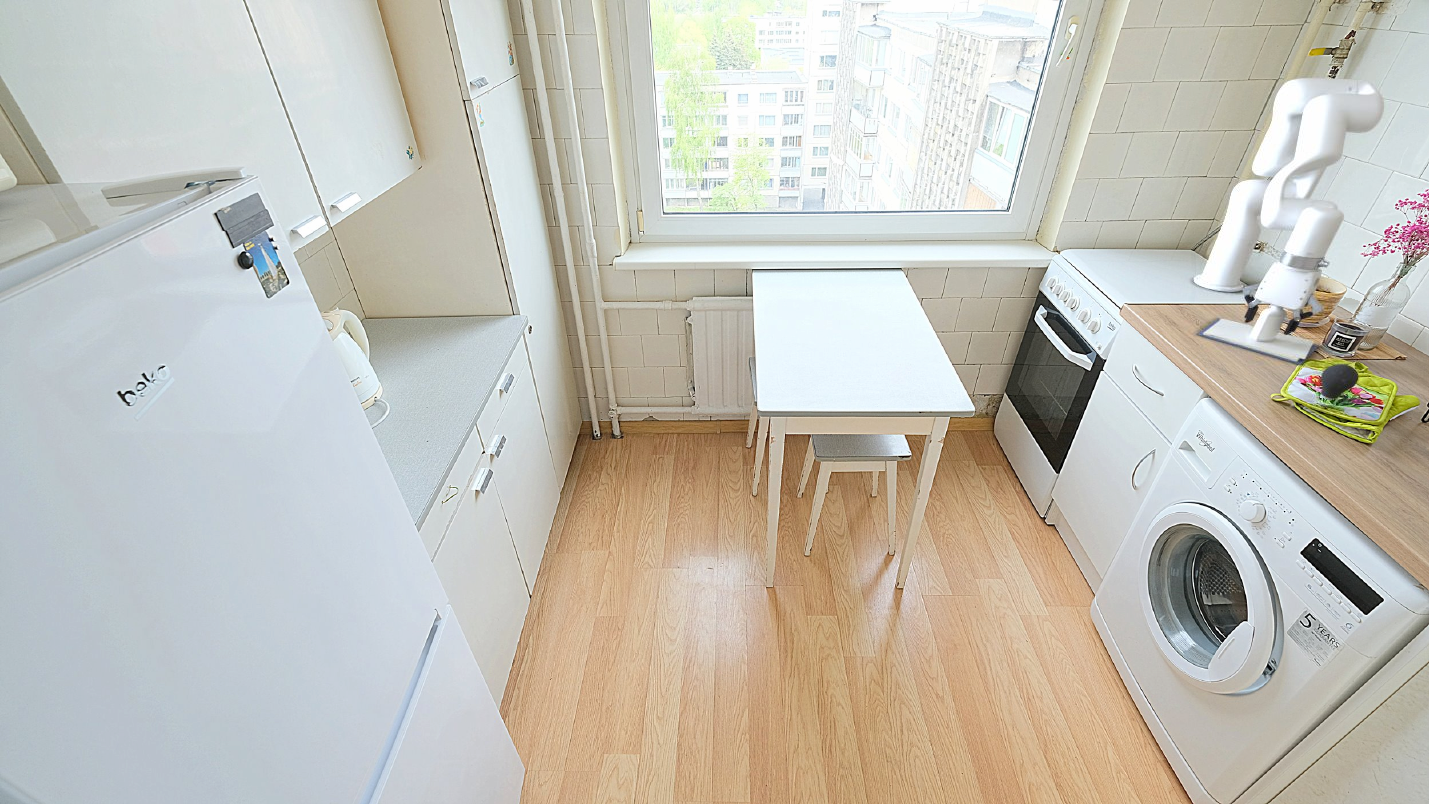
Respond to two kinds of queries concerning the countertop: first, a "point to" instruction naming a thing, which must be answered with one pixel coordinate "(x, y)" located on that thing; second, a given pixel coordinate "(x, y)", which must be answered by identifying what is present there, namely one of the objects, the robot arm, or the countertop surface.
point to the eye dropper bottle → (1269, 324)
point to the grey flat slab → (1278, 348)
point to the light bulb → (1337, 381)
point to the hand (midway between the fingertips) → (1267, 327)
